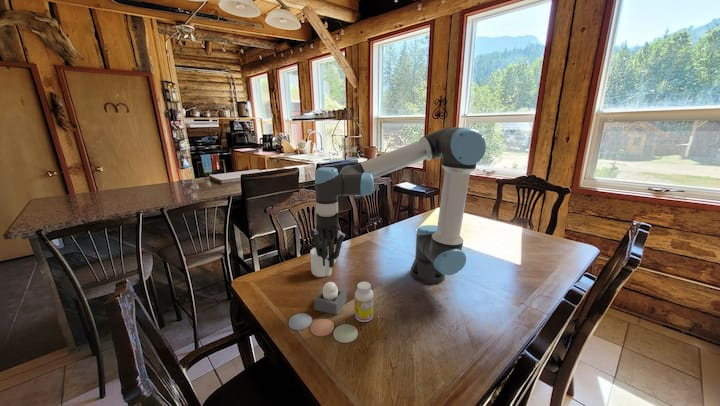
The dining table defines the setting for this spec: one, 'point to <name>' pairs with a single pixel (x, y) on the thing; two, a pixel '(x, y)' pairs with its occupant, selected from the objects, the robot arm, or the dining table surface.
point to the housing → (330, 302)
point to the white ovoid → (330, 291)
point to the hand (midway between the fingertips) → (328, 274)
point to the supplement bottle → (364, 302)
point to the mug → (317, 264)
